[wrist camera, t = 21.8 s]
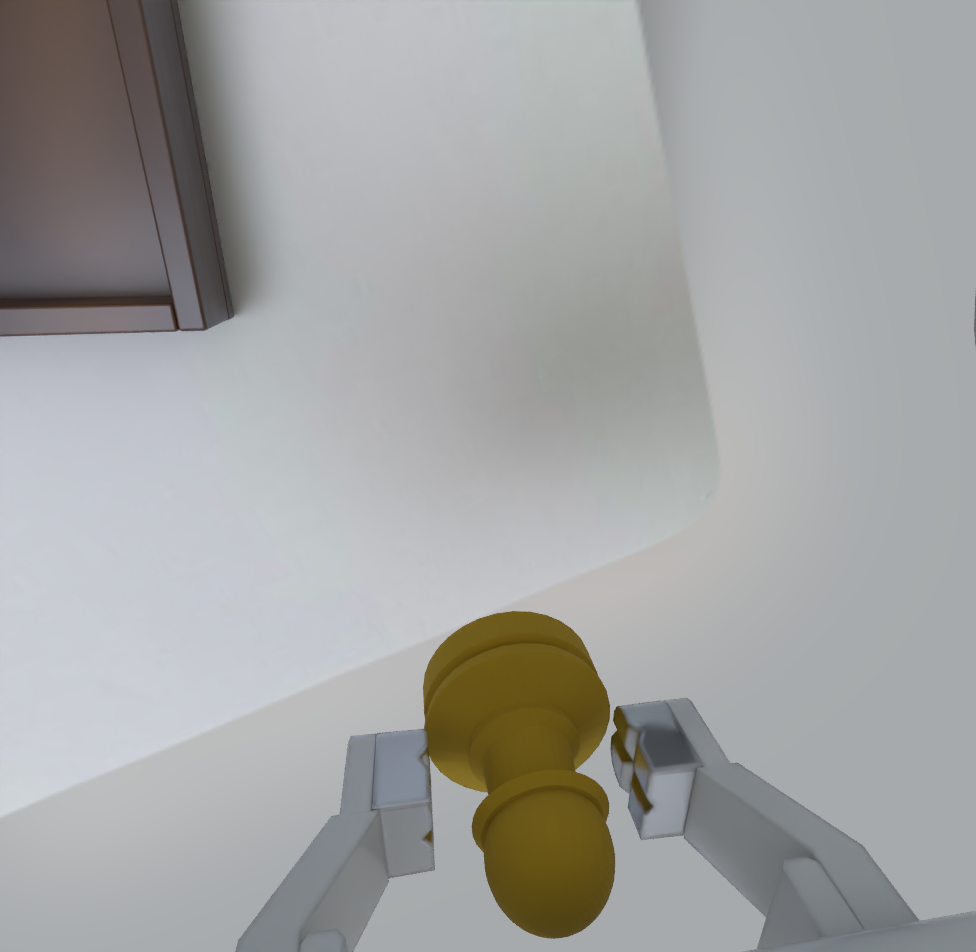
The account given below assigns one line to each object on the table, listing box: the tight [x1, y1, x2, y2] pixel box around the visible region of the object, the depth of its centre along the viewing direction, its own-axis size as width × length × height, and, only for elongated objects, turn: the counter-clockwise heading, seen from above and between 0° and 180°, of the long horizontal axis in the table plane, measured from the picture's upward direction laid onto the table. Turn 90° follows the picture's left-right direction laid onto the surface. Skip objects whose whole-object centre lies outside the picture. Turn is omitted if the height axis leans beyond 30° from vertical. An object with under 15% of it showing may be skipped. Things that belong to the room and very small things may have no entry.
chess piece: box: [423, 611, 615, 938], centre depth 10 cm, size 4×4×5 cm
